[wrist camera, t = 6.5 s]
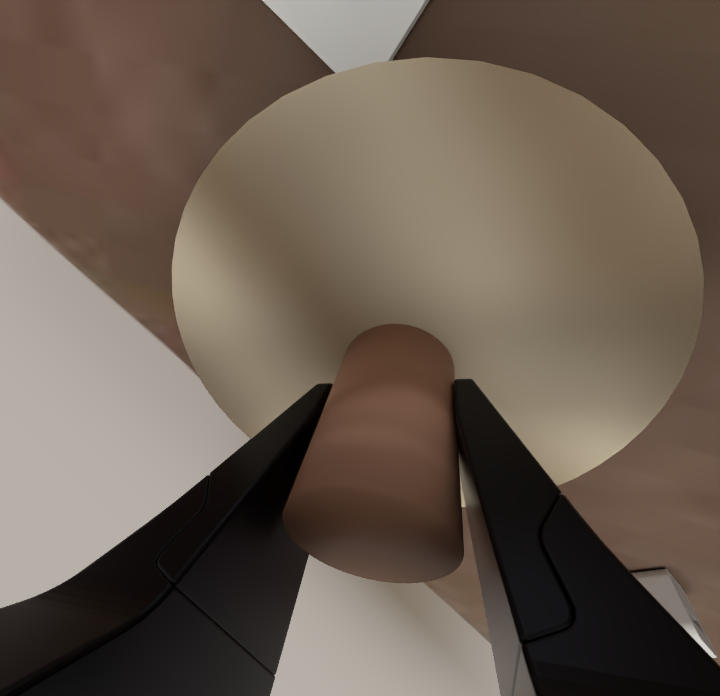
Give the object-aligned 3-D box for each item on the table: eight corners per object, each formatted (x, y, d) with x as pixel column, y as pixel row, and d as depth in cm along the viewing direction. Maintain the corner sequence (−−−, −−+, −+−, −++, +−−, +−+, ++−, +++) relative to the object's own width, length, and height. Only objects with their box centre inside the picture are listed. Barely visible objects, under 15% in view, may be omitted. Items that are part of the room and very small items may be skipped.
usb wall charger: (683, 590, 25) (720, 661, 21) (584, 598, 28) (603, 661, 25) (663, 564, 23) (698, 636, 20) (562, 577, 27) (578, 640, 24)
